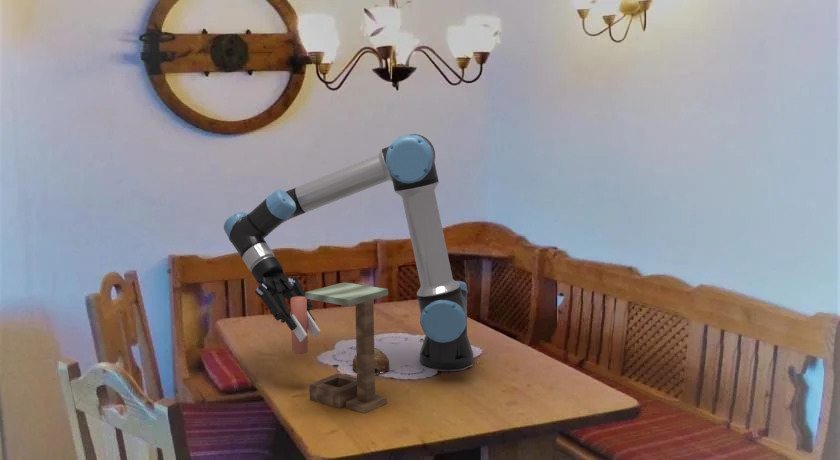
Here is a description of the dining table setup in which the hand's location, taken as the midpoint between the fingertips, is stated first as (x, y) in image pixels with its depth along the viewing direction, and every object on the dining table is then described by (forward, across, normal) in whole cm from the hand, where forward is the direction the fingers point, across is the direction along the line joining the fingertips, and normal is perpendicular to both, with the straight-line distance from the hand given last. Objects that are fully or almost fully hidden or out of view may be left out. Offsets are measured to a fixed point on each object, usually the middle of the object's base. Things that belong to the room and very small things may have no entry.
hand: (310, 336), depth 201 cm
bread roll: (+11, -22, -10) cm, 26 cm away
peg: (+1, 0, -6) cm, 6 cm away
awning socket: (+19, 0, -1) cm, 19 cm away
